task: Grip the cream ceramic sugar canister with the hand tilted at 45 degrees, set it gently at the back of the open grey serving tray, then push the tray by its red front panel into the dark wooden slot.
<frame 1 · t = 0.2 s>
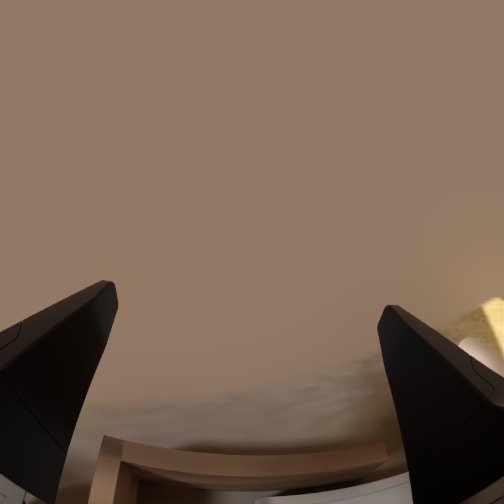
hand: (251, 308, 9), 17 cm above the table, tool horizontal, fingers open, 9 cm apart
canister: (422, 427, 19), on the table
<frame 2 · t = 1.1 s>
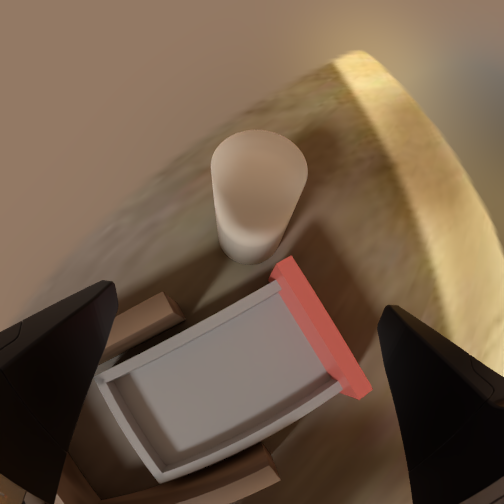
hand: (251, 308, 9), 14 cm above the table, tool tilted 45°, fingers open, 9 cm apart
tray: (221, 388, 18), point 2 cm above the table, slide at 8.0 cm
slot: (142, 422, 19), on the table
donut: (35, 490, 14), on the table
canister: (249, 235, 24), on the table
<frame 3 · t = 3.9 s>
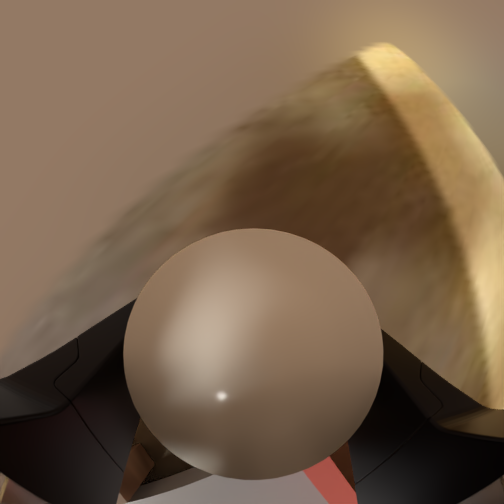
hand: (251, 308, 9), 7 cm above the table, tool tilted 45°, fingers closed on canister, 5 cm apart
canister: (241, 349, 15), on the table, touching gripper
when the fingers open (8 cm above the table, at t = 8.0 s): canister stays where it is, resting on tray.
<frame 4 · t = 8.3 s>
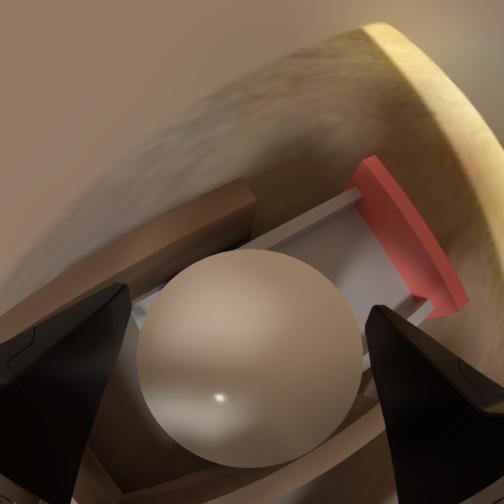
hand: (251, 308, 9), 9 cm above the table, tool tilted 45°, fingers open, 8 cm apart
tray: (308, 309, 15), point 2 cm above the table, slide at 8.0 cm, touching canister
slot: (190, 376, 16), on the table
canister: (242, 350, 15), point 1 cm above the table, touching tray
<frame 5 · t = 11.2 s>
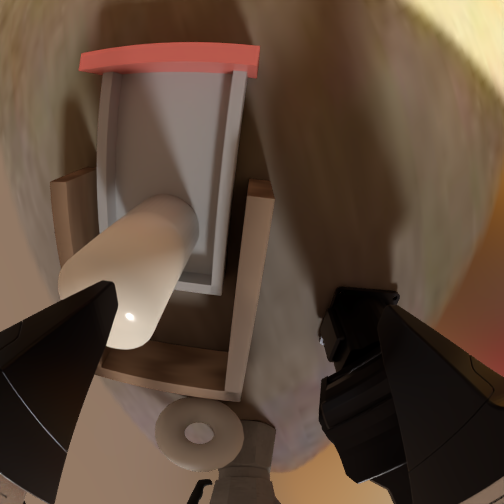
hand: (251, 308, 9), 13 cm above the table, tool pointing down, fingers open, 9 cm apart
tray: (159, 177, 17), point 2 cm above the table, slide at 8.0 cm, touching canister
slot: (167, 262, 23), on the table
donut: (204, 397, 31), on the table
coffeepot: (238, 433, 35), on the table
canister: (165, 228, 20), point 1 cm above the table, touching tray
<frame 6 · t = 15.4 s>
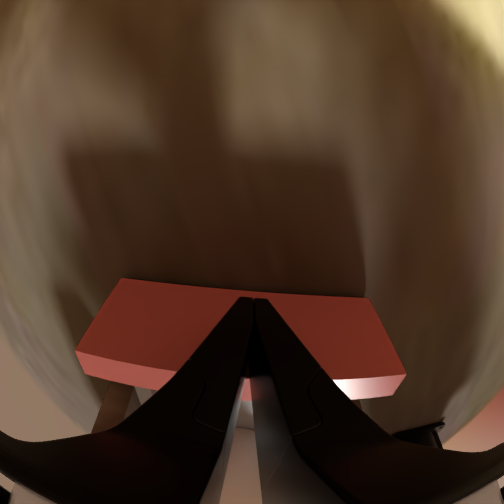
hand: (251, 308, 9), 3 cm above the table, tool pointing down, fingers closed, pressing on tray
tray: (233, 434, 13), point 2 cm above the table, slide at 6.6 cm, touching canister, gripper
slot: (230, 441, 18), on the table
canister: (233, 442, 16), point 1 cm above the table, touching tray
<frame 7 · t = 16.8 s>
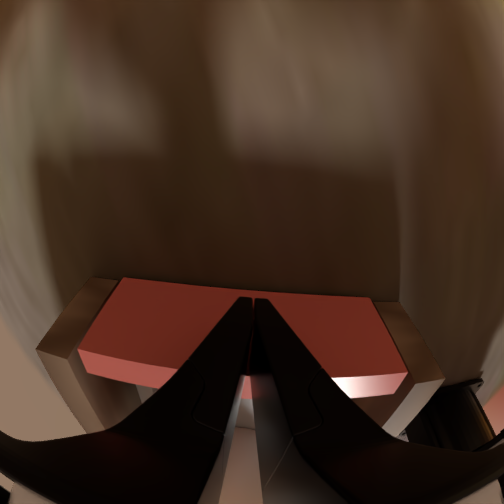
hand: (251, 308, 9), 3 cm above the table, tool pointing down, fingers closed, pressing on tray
tray: (234, 434, 13), point 2 cm above the table, slide at -0.1 cm, touching canister, gripper
slot: (236, 397, 15), on the table
canister: (234, 442, 16), point 1 cm above the table, touching tray
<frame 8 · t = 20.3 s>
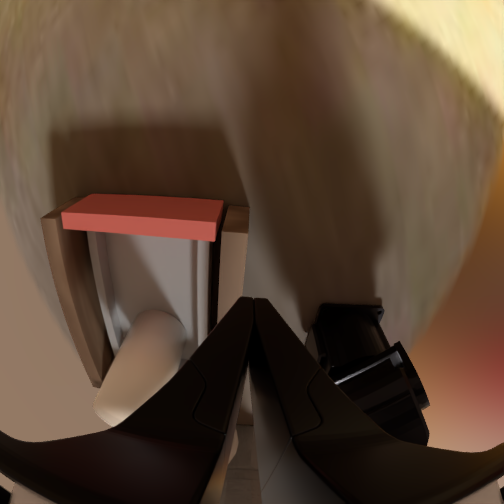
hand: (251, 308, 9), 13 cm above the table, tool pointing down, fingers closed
tray: (149, 305, 22), point 2 cm above the table, slide at 0.0 cm, touching canister
slot: (157, 285, 24), on the table
coffeepot: (235, 437, 37), on the table
canister: (159, 331, 25), point 1 cm above the table, touching tray
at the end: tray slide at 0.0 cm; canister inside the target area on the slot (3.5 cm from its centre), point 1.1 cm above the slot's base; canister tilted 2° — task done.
